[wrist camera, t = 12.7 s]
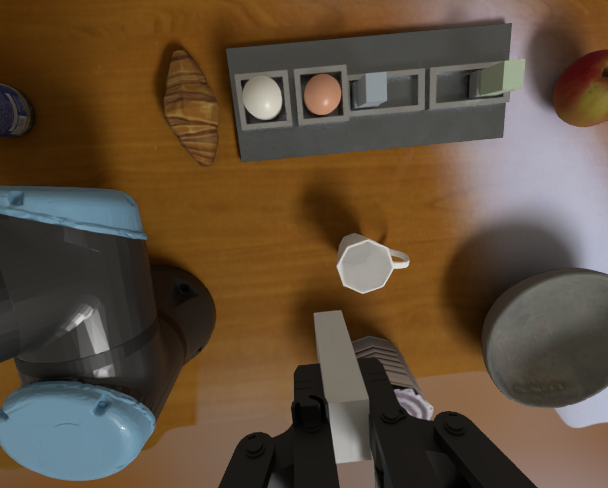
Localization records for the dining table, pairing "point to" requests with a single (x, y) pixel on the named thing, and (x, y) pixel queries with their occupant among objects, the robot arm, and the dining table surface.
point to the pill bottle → (14, 112)
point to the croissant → (191, 108)
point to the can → (395, 374)
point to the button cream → (262, 98)
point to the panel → (388, 115)
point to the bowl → (549, 338)
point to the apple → (583, 91)
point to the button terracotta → (321, 95)
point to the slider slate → (369, 90)
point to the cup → (366, 263)
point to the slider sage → (497, 79)
